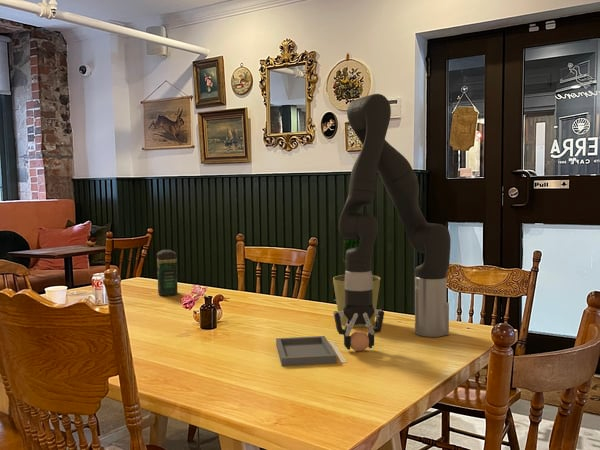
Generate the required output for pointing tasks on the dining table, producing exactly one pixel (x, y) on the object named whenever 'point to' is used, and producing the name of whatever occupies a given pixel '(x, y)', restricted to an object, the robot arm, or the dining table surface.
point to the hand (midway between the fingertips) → (359, 347)
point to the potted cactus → (340, 286)
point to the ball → (359, 340)
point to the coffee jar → (167, 272)
